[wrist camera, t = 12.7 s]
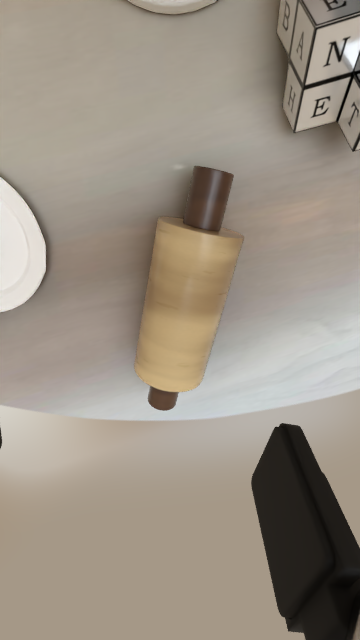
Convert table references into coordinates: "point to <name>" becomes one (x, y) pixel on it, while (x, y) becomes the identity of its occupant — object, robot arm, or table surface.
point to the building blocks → (322, 64)
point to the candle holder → (18, 250)
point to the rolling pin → (186, 290)
